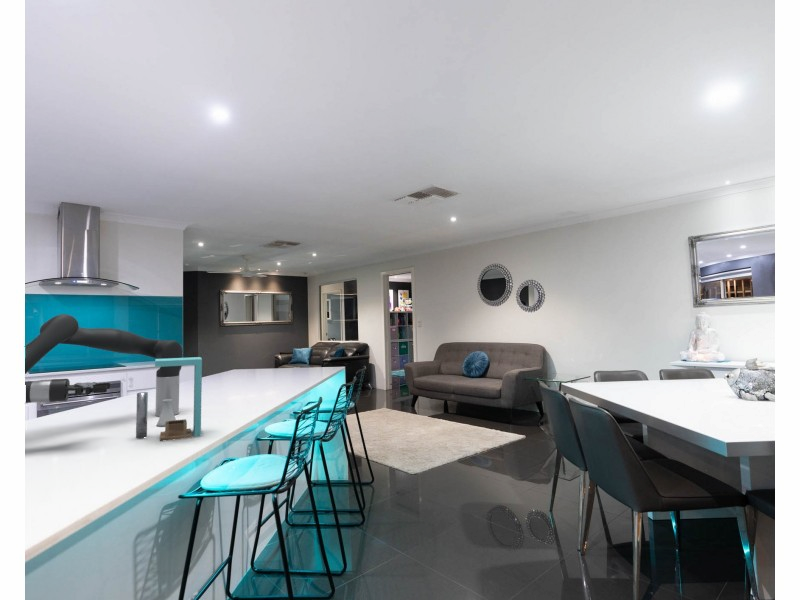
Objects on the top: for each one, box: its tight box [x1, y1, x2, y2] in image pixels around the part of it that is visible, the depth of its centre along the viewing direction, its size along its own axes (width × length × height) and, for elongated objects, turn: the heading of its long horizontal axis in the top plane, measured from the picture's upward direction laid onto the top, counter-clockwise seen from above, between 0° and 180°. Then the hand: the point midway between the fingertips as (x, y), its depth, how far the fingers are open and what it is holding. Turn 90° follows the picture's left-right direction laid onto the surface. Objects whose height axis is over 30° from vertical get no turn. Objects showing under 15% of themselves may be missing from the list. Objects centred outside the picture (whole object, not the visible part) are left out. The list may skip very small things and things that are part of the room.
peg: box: [135, 391, 149, 439], centre depth 154 cm, size 3×3×16 cm
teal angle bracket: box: [154, 356, 203, 438], centre depth 157 cm, size 10×15×28 cm, turn 118°
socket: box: [159, 418, 193, 442], centre depth 156 cm, size 10×10×5 cm
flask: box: [156, 399, 177, 427], centre depth 173 cm, size 7×7×10 cm
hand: (108, 387), depth 150 cm, fingers open, 8 cm apart
